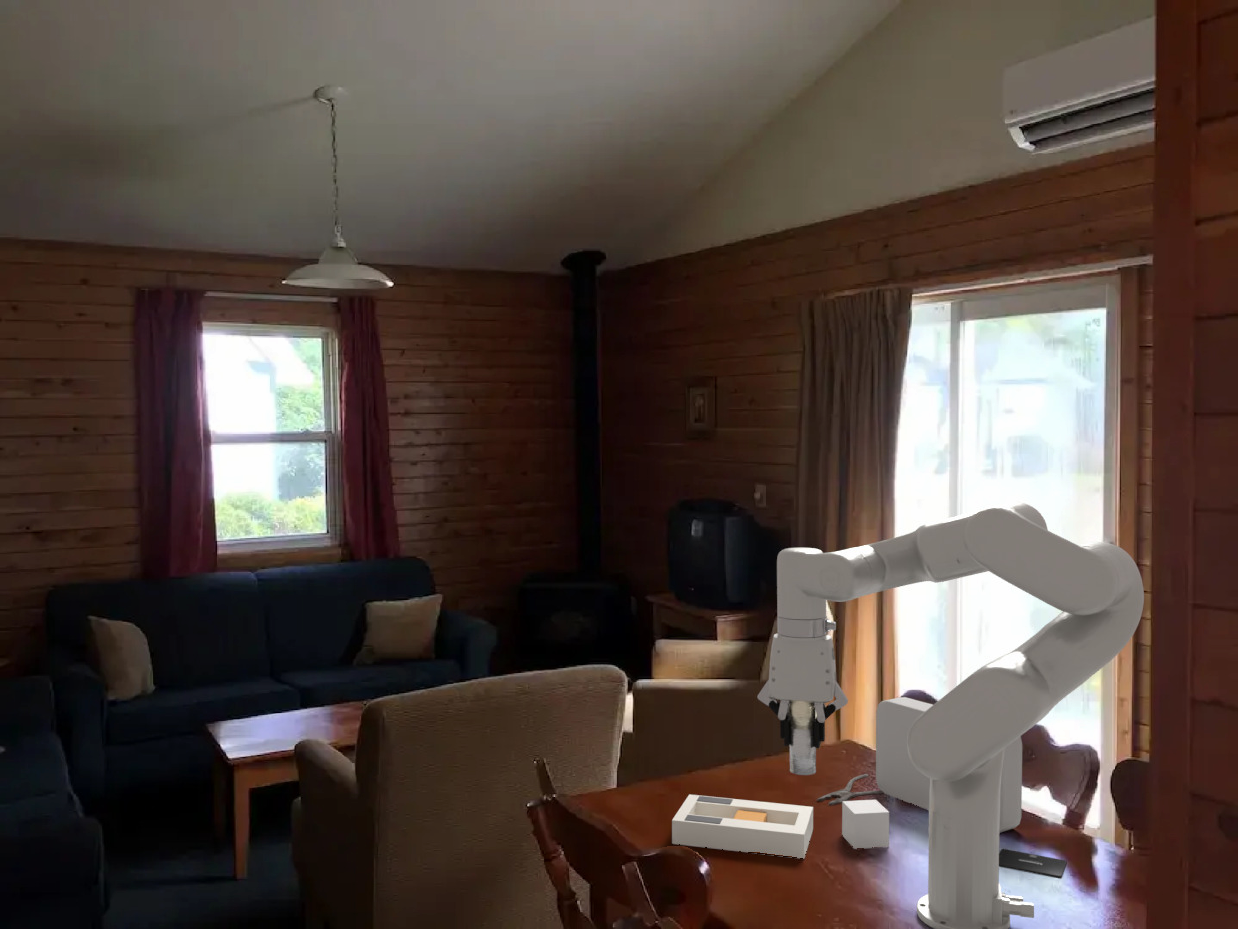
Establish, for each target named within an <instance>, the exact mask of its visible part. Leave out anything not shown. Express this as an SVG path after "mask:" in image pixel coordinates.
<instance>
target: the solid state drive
mask: <svg viewBox="0 0 1238 929" xmlns="http://www.w3.org/2000/svg"><path fill="white" fill-rule="evenodd" d="M1065 866H1067V860H1065V859H1059V858H1054V857H1049V856H1044V855H1039V854H1038V855H1037V854H1034V853H1028V852H1023V851H1018V850H1012V849H1007V848H1001V849H1000V850H999V868H1005V869H1006V868H1007V869H1011V870H1016V871H1022V872H1027V873H1032V874H1036V875H1041V876H1048V877H1052V878H1053V877H1054V878H1057V879H1061V878H1062V877H1063V875H1064V873H1065V869H1066V867H1065Z"/></svg>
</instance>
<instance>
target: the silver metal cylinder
mask: <svg viewBox="0 0 1238 929" xmlns="http://www.w3.org/2000/svg"><path fill="white" fill-rule="evenodd" d="M788 712H789V716H790V745H789V772H790V773H792V774H794V775H798V776H811V775H812V776H813V775H815V774H816V772H817V748H816V747H814V722H815V721H816V716H817V715H816V710H815V705H814V703H813V702H807V701H800V700H799V701H789V710H788Z"/></svg>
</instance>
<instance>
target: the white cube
mask: <svg viewBox="0 0 1238 929" xmlns="http://www.w3.org/2000/svg"><path fill="white" fill-rule="evenodd" d="M841 807H842V808H841V809H842V813H841V815H842V816H841V819H842V820H841V821H842V822H841V831H842V832H841V836H842V835H843V836H842V837H843V838H844V839H845V840H846V841H847V842H848V844H849V845H850V846H851V847H852V846H853V847H852V848H853V849H854V850H858V849H857V848H864V849H875V848H874V847H883V848H889V847H890V811H889V810H888V809H887V808H885V807H884V805H882V804H881V803H880V802H879V801H878V800H877V799H864V800H863V799H861V800H847V801H842V803H841ZM886 846H887V847H886ZM888 846H889V847H888ZM872 847H873V848H872Z"/></svg>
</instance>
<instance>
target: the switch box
mask: <svg viewBox="0 0 1238 929" xmlns="http://www.w3.org/2000/svg"><path fill="white" fill-rule="evenodd" d="M738 810H743V811H753V812H763V813H767V822H758V821H748V820H739V819H734V817H735V815H736V813H737V811H738ZM813 830H814V806H809V805H808V806H807V805H806V806H805V805H797V804H789V803H788V804H787V803H777V802H769V801H758V800H748V799H739V798H738V799H736V798H729V797H720V796H719V797H718V796H717V797H716V796H710V795H709V796H708V795H701V794H700V795H698V794H691V793H690V794H688V796H686V799H685V800H684V801H683V803H682V805H681V806H680V808H679V809H678V811H677V812H676V813H675V815H674V817H673V818H672V820H671V844H673V845H679V844H680V845H679V846H688V847H697V848H705V847H707V849H715V850H722V849H723V850H724V851H732V852H739V851H741V852H742V853H748V852H760V853H767V854H775V855H783V856H792V857H797V858H796V859H800V858H803V859H802V860H805V857H806V855H805V854H807V852H808V848H809V844H810V842H809V841H811V838H812V835H813ZM806 851H807V852H806ZM783 856H782V857H783ZM792 857H791V858H792Z"/></svg>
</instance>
